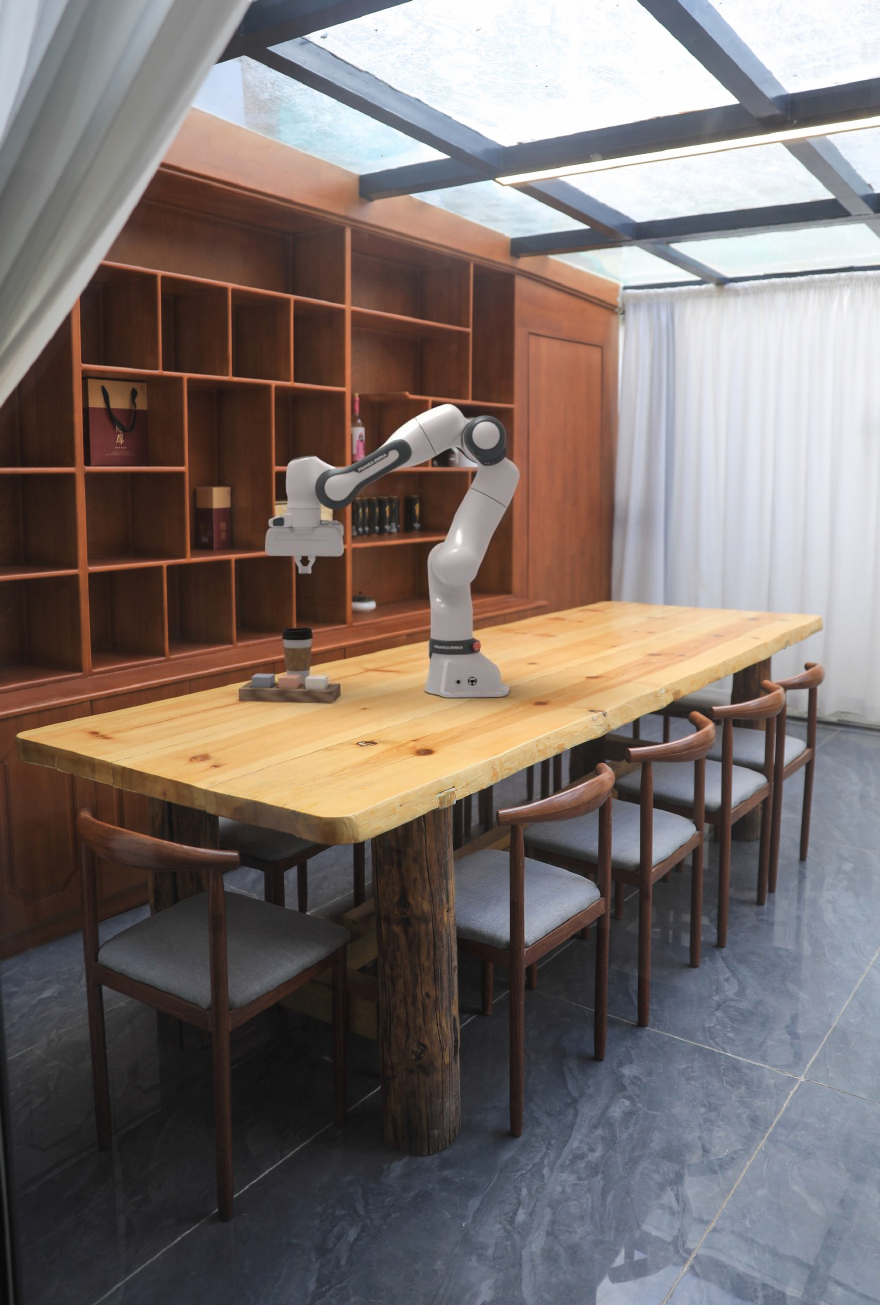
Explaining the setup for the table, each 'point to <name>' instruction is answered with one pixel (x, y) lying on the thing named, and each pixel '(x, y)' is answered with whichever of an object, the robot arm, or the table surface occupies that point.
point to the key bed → (290, 694)
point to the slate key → (263, 681)
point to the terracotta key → (290, 681)
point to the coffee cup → (297, 651)
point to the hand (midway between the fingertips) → (305, 573)
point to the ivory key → (317, 682)
